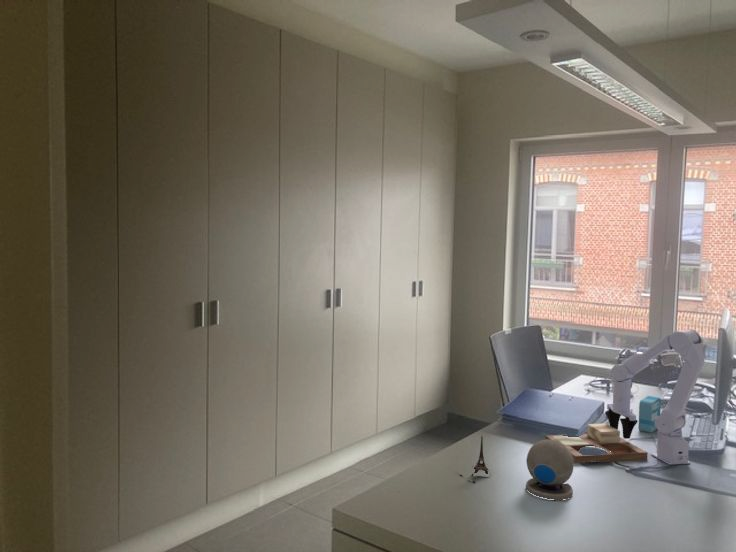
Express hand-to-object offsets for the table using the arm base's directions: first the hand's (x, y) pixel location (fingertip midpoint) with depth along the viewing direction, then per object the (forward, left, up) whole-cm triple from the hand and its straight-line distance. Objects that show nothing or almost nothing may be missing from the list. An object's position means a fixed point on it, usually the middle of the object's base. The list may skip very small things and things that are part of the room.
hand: (620, 434), depth 212 cm
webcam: (-34, +45, -4) cm, 56 cm away
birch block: (0, +7, -1) cm, 7 cm away
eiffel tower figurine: (-18, +60, -4) cm, 62 cm away
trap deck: (-5, +13, -4) cm, 14 cm away
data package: (+15, -22, -4) cm, 27 cm away
